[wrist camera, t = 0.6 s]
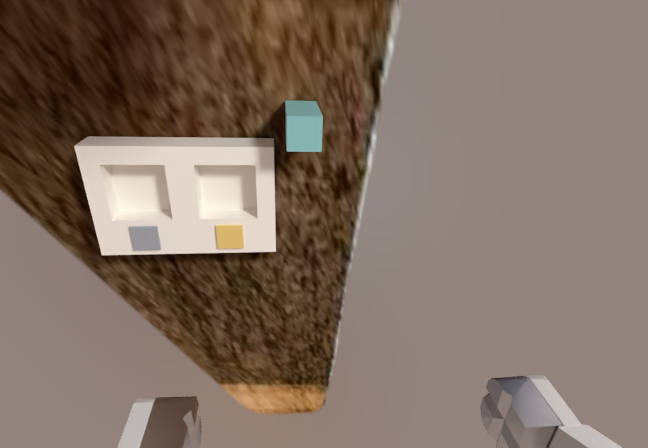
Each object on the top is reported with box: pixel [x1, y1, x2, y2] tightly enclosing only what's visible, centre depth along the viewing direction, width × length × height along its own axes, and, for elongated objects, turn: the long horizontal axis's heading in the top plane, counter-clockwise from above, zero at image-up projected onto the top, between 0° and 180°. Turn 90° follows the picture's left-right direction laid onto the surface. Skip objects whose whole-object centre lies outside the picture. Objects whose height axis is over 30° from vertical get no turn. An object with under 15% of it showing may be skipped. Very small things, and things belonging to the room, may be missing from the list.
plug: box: [285, 101, 323, 152], centre depth 42 cm, size 3×3×8 cm
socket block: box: [74, 136, 276, 255], centre depth 46 cm, size 13×20×4 cm, turn 88°
